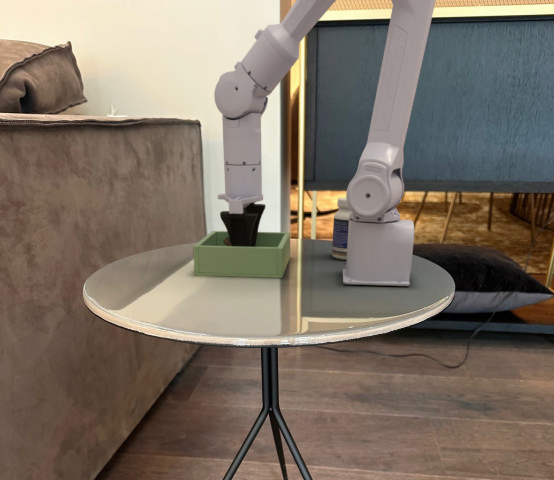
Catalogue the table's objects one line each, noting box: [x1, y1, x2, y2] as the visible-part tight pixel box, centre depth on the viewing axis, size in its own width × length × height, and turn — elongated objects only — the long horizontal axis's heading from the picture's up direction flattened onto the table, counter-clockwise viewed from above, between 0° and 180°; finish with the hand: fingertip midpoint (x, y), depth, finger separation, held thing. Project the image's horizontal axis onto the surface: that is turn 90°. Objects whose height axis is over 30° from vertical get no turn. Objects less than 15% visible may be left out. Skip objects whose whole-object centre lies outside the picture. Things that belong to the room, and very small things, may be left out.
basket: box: [192, 230, 291, 279], centre depth 85 cm, size 14×14×4 cm
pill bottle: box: [331, 197, 352, 261], centre depth 91 cm, size 6×6×10 cm
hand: (245, 253), depth 85 cm, fingers open, 6 cm apart
